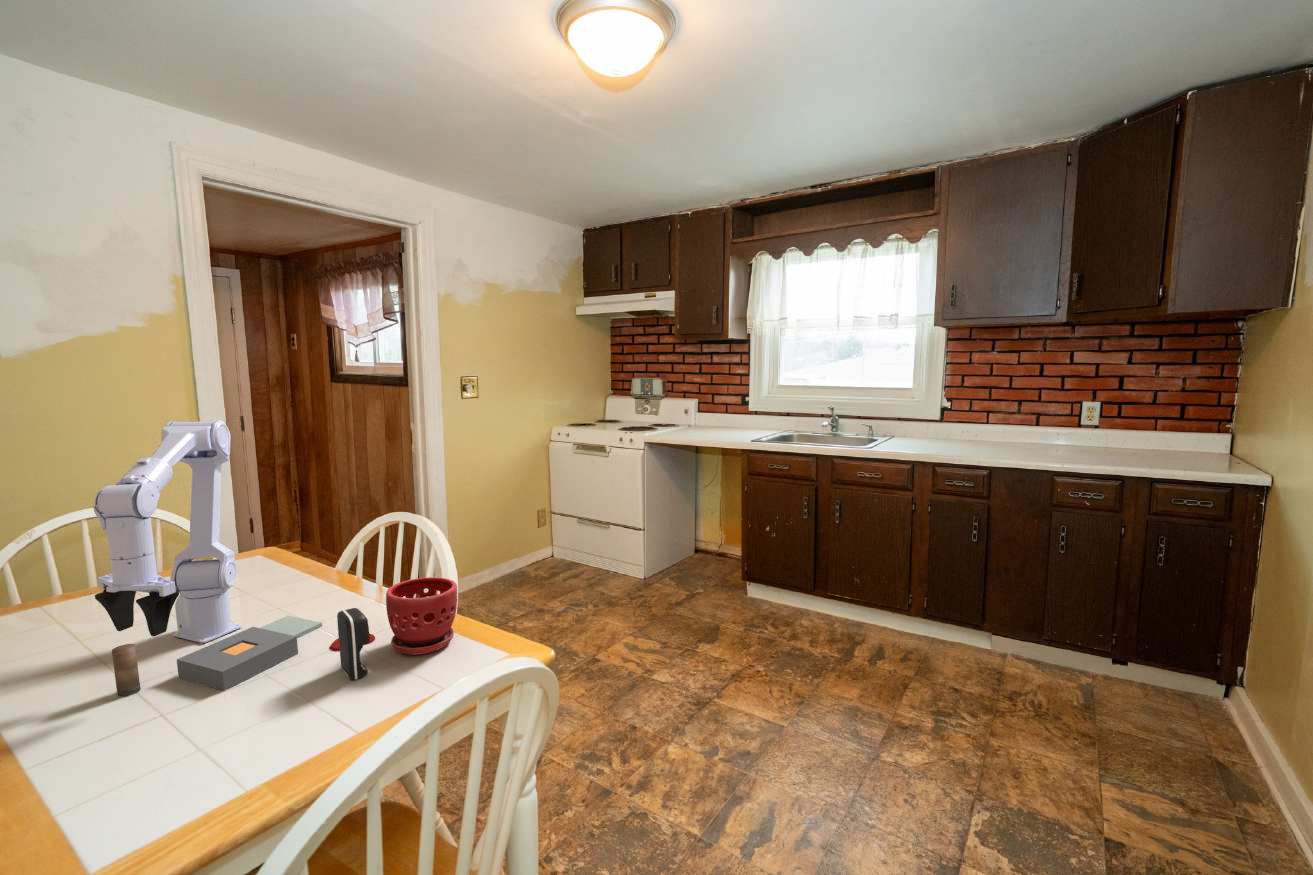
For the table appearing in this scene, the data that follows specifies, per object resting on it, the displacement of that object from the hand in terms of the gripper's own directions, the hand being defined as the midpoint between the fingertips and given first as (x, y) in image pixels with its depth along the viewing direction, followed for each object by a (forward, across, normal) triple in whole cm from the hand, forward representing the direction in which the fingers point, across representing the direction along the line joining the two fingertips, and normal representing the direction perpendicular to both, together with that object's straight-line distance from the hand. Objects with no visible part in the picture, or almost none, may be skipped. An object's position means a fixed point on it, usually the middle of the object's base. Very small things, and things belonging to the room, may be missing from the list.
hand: (141, 631), depth 103 cm
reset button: (+8, +8, +10) cm, 16 cm away
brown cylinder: (+10, -2, -2) cm, 11 cm away
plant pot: (+11, +36, +26) cm, 46 cm away
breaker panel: (+10, +8, +10) cm, 17 cm away
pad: (+10, +5, +24) cm, 26 cm away
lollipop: (+11, +18, +26) cm, 34 cm away
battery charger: (+11, +31, +14) cm, 35 cm away
